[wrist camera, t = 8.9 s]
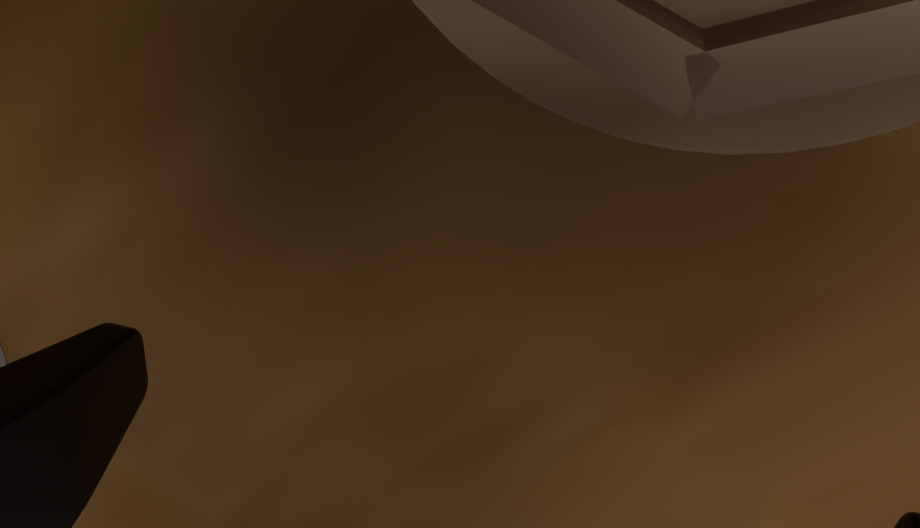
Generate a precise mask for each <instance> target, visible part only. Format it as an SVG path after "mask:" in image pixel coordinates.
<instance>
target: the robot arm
mask: <svg viewBox="0 0 920 528" xmlns="http://www.w3.org/2000/svg"><path fill="white" fill-rule="evenodd" d="M147 386H148V375H147V368H146V360H145V352H144V345H143V339H142V335H141V334H140V332H139V331H138V330H136V329H135V328H131V327H127V326H122V325H118V324H114V323H104V324H101V325H98V326H96V327H93V328H91V329H89V330H86V331H84V332H82V333H79V334H77V335H75V336H72V337H70V338H68V339H65V340H63V341H61V342H58V343H56V344H54V345H51V346H49V347H47V348H44V349H42V350H40V351H37V352H35V353H33V354H30V355H28V356H26V357H23V358H21V359H19V360H16V361H14V362H12V363H9V364H7V365H5V366H2V367H0V528H71V527H72V526H73V524H74V523H75V521H76V520H77V518H78V517H79V515H80V514H81V512H82V511H83V509H84V507H85V506H86V504H87V503H88V501H89V499H90V497H91V496H92V494H93V492H94V490H95V489H96V487H97V485H98V483H99V481H100V480H101V478H102V476H103V474H104V472H105V470H106V468H107V466H108V465H109V463H110V461H111V459H112V457H113V455H114V453H115V451H116V450H117V448H118V446H119V444H120V442H121V440H122V438H123V436H124V435H125V433H126V431H127V429H128V427H129V425H130V423H131V422H132V420H133V418H134V416H135V414H136V412H137V410H138V408H139V407H140V405H141V403H142V401H143V399H144V397H145V394H146V390H147ZM894 528H920V513H916V512H908V513H906V514H904V515H903V516H902V517H901V518H900V519H899V521H898V522H897V524H896V525H895V527H894Z"/></svg>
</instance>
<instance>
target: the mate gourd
mask: <svg viewBox="0 0 920 528" xmlns="http://www.w3.org/2000/svg"><path fill="white" fill-rule="evenodd" d="M5 365H6V362H5V358H4V354H3V350H2V347H1V345H0V367H2V366H5Z"/></svg>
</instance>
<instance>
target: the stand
mask: <svg viewBox="0 0 920 528" xmlns="http://www.w3.org/2000/svg"><path fill="white" fill-rule="evenodd" d="M412 1H413V2H414V4H415V5H416V6H417V7H418V8H419V9H420V10H421V11H422V12H423V13H424V14H425V16H426V17H427V18H428V19H429V20H430V21H431V22H432V23H433V24H434V25H435V26H436V27H437V28H438V29H439V30H440V31H441V32H442V34H443V35H444V36H445V37H446V38H447V39H448V40H449V41H450V42H451V43H452V44H453V45H454V46H456V47H457V48H458V49H459V50H460V51H462V52H463V53H464V54H465V55H466V56H468V57H469V58H470V59H471V60H472V61H474V62H475V63H476V64H477V65H478V66H480V67H481V68H482V69H483V70H485V71H486V72H487V73H488V74H489V75H491V76H492V77H494V78H495V79H497V80H498V81H500V82H501V83H503V84H504V85H506V86H508V87H509V88H511V89H512V90H514V91H515V92H517V93H519V94H520V95H522V96H523V97H525V98H526V99H528V100H529V101H531V102H533V103H534V104H537V105H539V106H541V107H543V108H545V109H547V110H549V111H551V112H553V113H555V114H557V115H560V116H562V117H564V118H566V119H568V120H570V121H572V122H574V123H576V124H578V125H581V126H584V127H587V128H590V129H593V130H596V131H599V132H602V133H605V134H608V135H611V136H614V137H617V138H620V139H623V140H627V141H632V142H636V143H641V144H646V145H651V146H656V147H661V148H666V149H671V150H676V151H688V152H699V153H711V154H723V155H740V154H774V153H787V152H794V151H801V150H808V149H815V148H823V147H830V146H837V145H841V144H845V143H849V142H853V141H857V140H861V139H865V138H869V137H873V136H877V135H881V134H885V133H889V132H893V131H896V130H899V129H902V128H905V127H908V126H910V125H913V124H916V123H919V122H920V0H412Z"/></svg>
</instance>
